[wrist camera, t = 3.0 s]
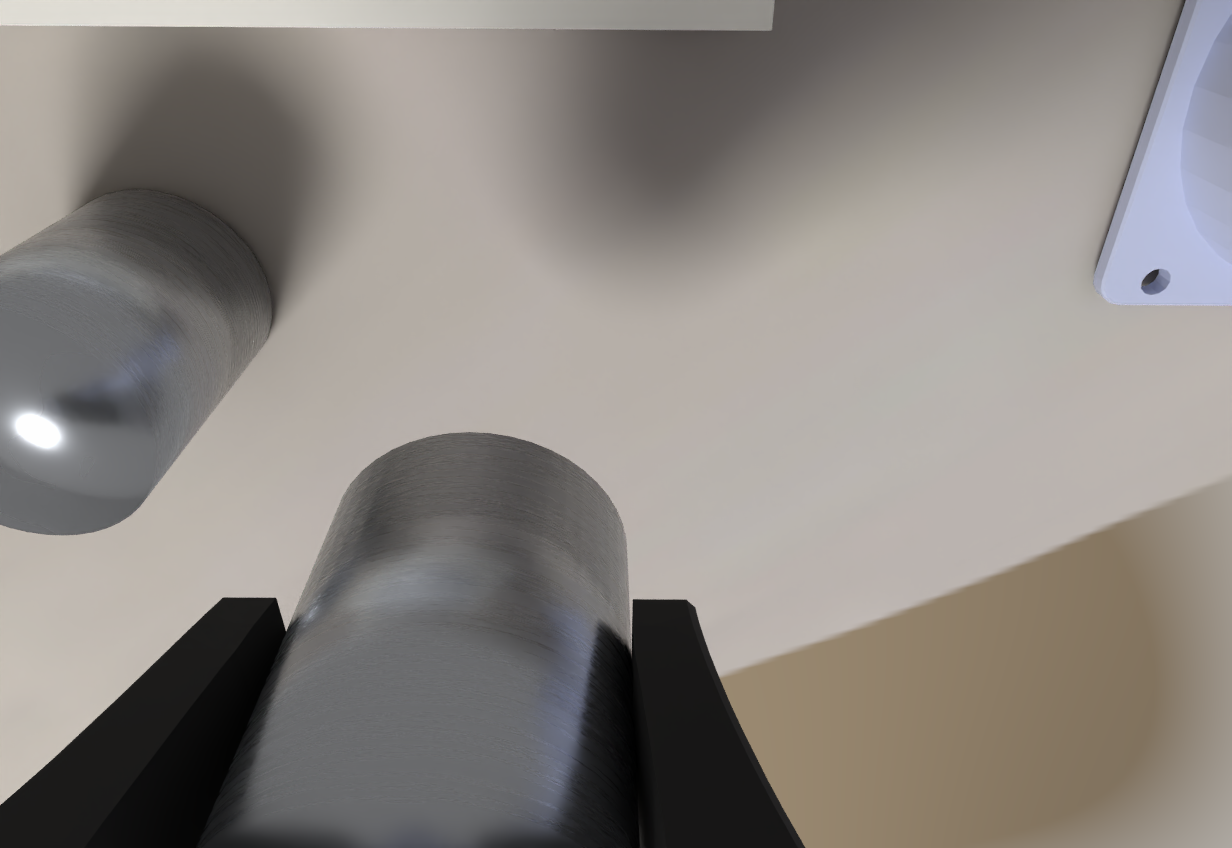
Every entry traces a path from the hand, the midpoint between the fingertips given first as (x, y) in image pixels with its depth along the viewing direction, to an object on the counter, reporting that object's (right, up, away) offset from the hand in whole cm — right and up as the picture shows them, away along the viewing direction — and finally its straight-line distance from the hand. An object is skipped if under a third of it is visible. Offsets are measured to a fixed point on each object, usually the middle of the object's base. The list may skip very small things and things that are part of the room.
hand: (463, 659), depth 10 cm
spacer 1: (-7, +5, +7) cm, 11 cm away
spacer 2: (0, +1, +2) cm, 2 cm away
